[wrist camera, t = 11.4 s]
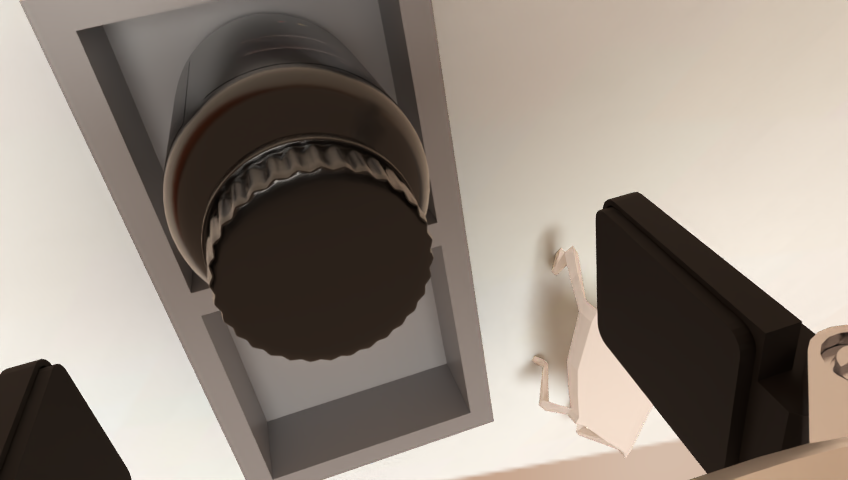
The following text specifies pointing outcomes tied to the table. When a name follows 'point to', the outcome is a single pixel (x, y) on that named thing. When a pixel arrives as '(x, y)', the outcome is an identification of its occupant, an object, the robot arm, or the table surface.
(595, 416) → the origami figure
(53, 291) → the table surface
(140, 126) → the divided tray
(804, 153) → the table surface
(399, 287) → the supplement bottle
